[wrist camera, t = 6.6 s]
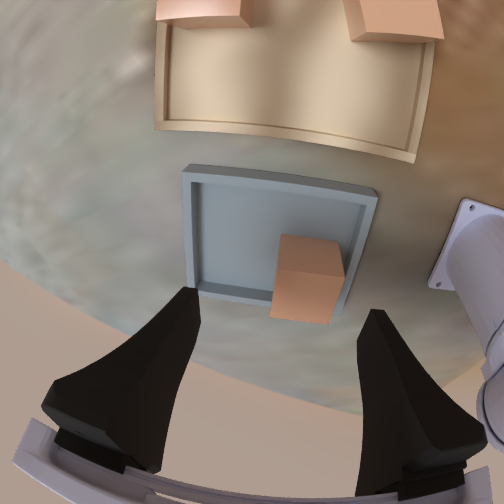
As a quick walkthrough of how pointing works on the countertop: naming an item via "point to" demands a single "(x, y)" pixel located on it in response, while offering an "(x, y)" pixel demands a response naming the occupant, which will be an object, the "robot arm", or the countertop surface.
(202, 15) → the chunk
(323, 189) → the slate dish
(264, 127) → the birch tray
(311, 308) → the chunk
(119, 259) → the countertop surface
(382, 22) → the chunk
